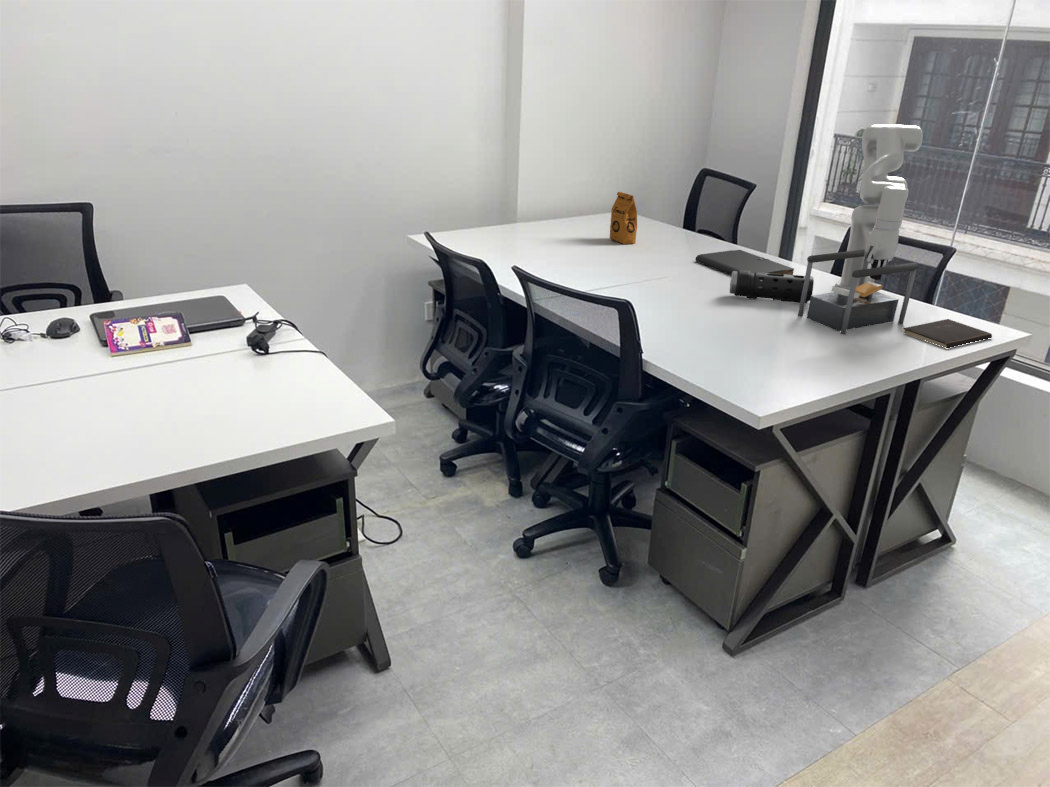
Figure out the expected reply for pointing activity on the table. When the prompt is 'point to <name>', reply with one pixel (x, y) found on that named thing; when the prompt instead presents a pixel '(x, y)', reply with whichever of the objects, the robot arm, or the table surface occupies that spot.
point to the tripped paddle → (868, 288)
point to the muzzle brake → (769, 286)
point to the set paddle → (844, 291)
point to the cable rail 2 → (880, 271)
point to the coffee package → (624, 219)
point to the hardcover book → (947, 333)
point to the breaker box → (852, 310)
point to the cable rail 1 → (828, 257)
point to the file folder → (741, 262)
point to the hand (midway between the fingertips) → (875, 278)
